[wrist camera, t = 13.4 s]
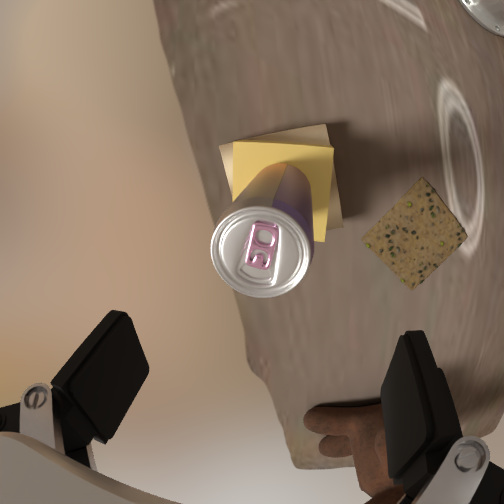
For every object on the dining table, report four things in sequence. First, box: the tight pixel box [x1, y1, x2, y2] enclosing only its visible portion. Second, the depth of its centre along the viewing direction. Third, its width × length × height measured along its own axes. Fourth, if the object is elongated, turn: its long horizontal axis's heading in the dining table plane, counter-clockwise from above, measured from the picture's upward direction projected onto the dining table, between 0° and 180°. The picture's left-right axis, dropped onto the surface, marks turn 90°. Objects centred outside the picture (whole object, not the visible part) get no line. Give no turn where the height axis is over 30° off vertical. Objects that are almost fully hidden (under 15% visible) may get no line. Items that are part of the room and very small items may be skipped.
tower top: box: [233, 140, 334, 242], centre depth 31 cm, size 10×10×3 cm
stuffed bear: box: [303, 403, 405, 504], centre depth 37 cm, size 29×23×35 cm
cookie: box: [361, 177, 467, 290], centre depth 34 cm, size 12×12×1 cm
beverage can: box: [211, 163, 314, 298], centre depth 23 cm, size 6×6×15 cm
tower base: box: [219, 124, 344, 230], centre depth 33 cm, size 12×12×3 cm
